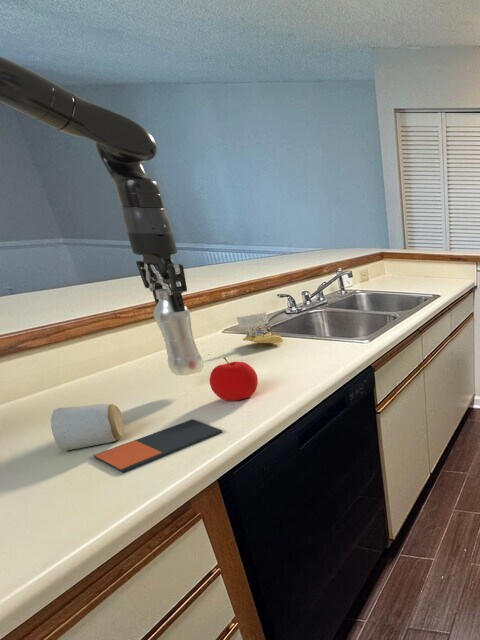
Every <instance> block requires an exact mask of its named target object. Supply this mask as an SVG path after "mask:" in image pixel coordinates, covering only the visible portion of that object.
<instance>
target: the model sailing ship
mask: <svg viewBox="0 0 480 640" xmlns="http://www.w3.org/2000/svg"><path fill="white" fill-rule="evenodd" d="M268 319H269V318H268V315H267V312H260V313H255V314H250V315H243V316H238V317H237V316H236V320H237V321H236V322H237V324H238V328H239V329H242V328H247V329H248V332H247V333H246V334H245V337H244V338H242V341H244V342H245V341H247V342H251V344H252V343H253V342H254V343H256V344H258V343H261V344H262V343H264V344H281V343H283V342H284V339H283V338H282V336H281V335H277V334H273V333H272V334H271V332H267V331H266V330H265V329H266V324H269V320H268ZM255 326H260V327H258V328H257V329H256V330H254V333H255V334H253V331H252V330H253V329H254V327H255ZM209 355H210V353H208V356H209Z"/></svg>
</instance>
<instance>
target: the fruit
mask: <svg viewBox="0 0 480 640" xmlns="http://www.w3.org/2000/svg"><path fill="white" fill-rule="evenodd" d="M222 359H223V360H224V361H225V362H226V363H223V364H219V365H216V366H215V367H214V368H213V369H211V370H212V371H210V372H211V373H210V376H209V386H210V388H211V391H212V392H213V393H214V394H215V395H216V396H217V398H218V399H221V400H223V401H227V402H229V401H230V402H235V401H241V400H244V399H249V398H250V397H252V396H253V394H254V393H255V392H256V390H257V388H258V383H259V378H258V374H257V372H256V371H255V369H254V367H252V365H250V364H249V363H246V362H244V361H231V362H229V361H228V360H227V358H226V356H224V357H223V358H222Z"/></svg>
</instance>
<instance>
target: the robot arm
mask: <svg viewBox="0 0 480 640" xmlns="http://www.w3.org/2000/svg"><path fill="white" fill-rule="evenodd" d="M0 103H2V104H3V105H6V106H7V107H10V108H12V109H14V110H16V111H18V112H20V113H22V114H24V115H26V116H28V117H30V118H32V119H34V120H37V121H39V122H41V123H43V124H45V125H47V126H49V127H51V128H53V129H55V130H57V131H59V132H62V133H63V134H67V135H69V136H72V137H76V138H82V139H83V138H84V139H87V140H91V141H93V142H94V145H95V148H96V151H97V153H98V156H99V157H100V159H101V161H102V163H103V166H104V167H105V169H106V171H107V174H108V175H109V177H110V178H111V179H112V181H113V183H114V186H115V189H116V190H115V191H116V193H117V197H118V200H119V204H120V207H121V213H122V220H123V223H124V226H125V230H126V233H127V236H128V240H129V244H130V247H131V251H132V253H133V254H134V255H137V256H142V260H136V261H135V264H136V266H137V270H138V272H139V275H140V278H141V280H142V283H143V286H144V288H145V289H149V291H150V292H151V293H152V295H153V299H154V302H155V306H156V305H157V303H158V302H159V299H157V298H156V292H155V290H158V289H166V290H167V292H168V294H169V299H170V302H171V306H172V310H173V311H174V312H181V311H185V306H186V305H185V303H184V298H183V294H184V293H187V292H188V287H187V281H186V276H185V270H184V266H183V264H182V263H175V262H174V260H173V258H172V255H176V254H177V253H178V249H177V245H176V241H175V240H176V239H175V237H174V233H173V228H172V224H171V221H170V218H169V215H168V213H167V211H166V207H165V204H164V203H165V202H164V199H163V196H162V191H161V189H160V186H159V184H158V182H157V180H155V179H154V178H152V177H150V176H148V175H147V173H146V171H145V169H144V167H143V164H142V163H146V162H149V161H152V160H153V159H154V158H155V157H156V156H157V153H158V145H157V141H156V140H155V138H154V137H153V135H152V134H151V132H149V130H148V129H146V128H145V127H143V126H142V125H141V124H139V123H138V122H136V121H135V120H133V119H131V118H128V117H127V116H124V115H122V114H120V113H118V112H116V111H113V110H111V109H108V108H106V107H104V106H101V105H99V104H96V103H94V102H91V101H88V100H86V99H84V98H82V97H80V96H78V95H77V94H75V93H74V92H72V91H70V90H69V89H66V88H64V87H63V86H61V85H59V84H57V83H55V82H54V81H51V80H49V79H48V78H46V77H44V76H43V75H41V74H40V73H37V72H35V71H33V70H31V69H29V68H27V67H25V66H23V65H21V64H18V63H17V62H14V61H12V60H10V59H7V58H5V57H2V56H0ZM184 305H185V306H184Z"/></svg>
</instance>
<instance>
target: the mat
mask: <svg viewBox="0 0 480 640" xmlns="http://www.w3.org/2000/svg"><path fill="white" fill-rule="evenodd" d="M220 434H223V430H222V429H219V428H218V427H214V426H212V425H209V424H206V423H203V422H201V421H198V420H196V419H193V418H192V419H189V420H186V421H184V422H181V423H178V424H175V425H173V426H170V427H168V428H165V429H164V428H163V429H162V430H160V431H156V432H154V433H151V434H148V435H145V436H142V437H139V438H137V439H134V440H131V441H129V442H126V443H122V444H121V445H118V446H115V447H112V448H110V449H107V450H104V451H100V452H99V453H96V454H93V458H94V459H95V460H97V461H99V462H101V463H103V464H104V465H107V466H109V467H111V468H113V469H115V470H117V471H118V472H120V473H122V474H125V473H127V472H130V471H133V470H135V469H137V468H140V467H143V466H144V465H145V466H146V465H147V464H149V463H152V462H155V461H157V460H159V459H162V458H165V457H167V456H169V455H171V454H174V453H176V452H179V451H182V450H183V449H184V450H185V449H187V448H188V447H191V446H194V445H196V444H198V443H201V442H203V441H206V440H208V439H210V438H213V437H215V436H218V435H220Z"/></svg>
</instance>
